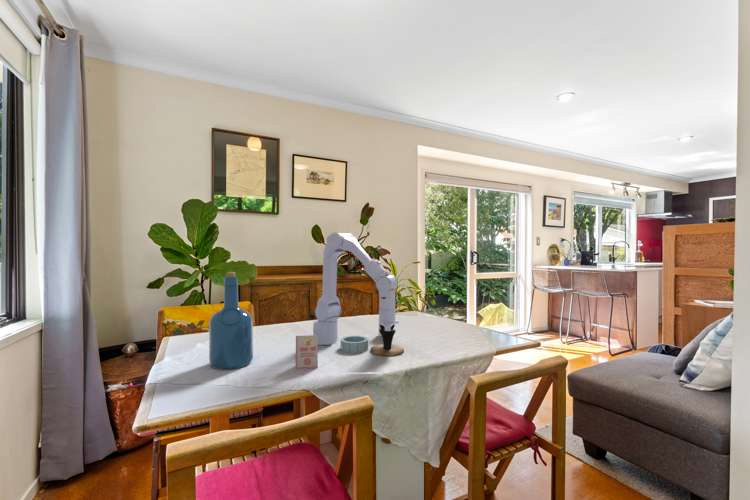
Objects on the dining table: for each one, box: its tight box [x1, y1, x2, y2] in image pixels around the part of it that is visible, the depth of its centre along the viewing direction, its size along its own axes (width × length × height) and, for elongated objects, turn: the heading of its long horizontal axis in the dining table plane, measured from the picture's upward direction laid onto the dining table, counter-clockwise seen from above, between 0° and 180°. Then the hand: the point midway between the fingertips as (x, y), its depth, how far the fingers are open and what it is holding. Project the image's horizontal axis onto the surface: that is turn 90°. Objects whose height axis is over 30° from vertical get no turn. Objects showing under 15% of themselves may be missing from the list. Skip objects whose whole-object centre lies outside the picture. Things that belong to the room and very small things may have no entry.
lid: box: [370, 343, 405, 357], centre depth 132 cm, size 12×12×5 cm
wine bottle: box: [208, 271, 254, 370], centre depth 120 cm, size 14×13×30 cm
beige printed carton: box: [295, 334, 319, 370], centre depth 118 cm, size 4×7×10 cm, turn 100°
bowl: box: [340, 335, 369, 354], centre depth 136 cm, size 10×10×4 cm
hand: (387, 346), depth 132 cm, fingers open, 6 cm apart
